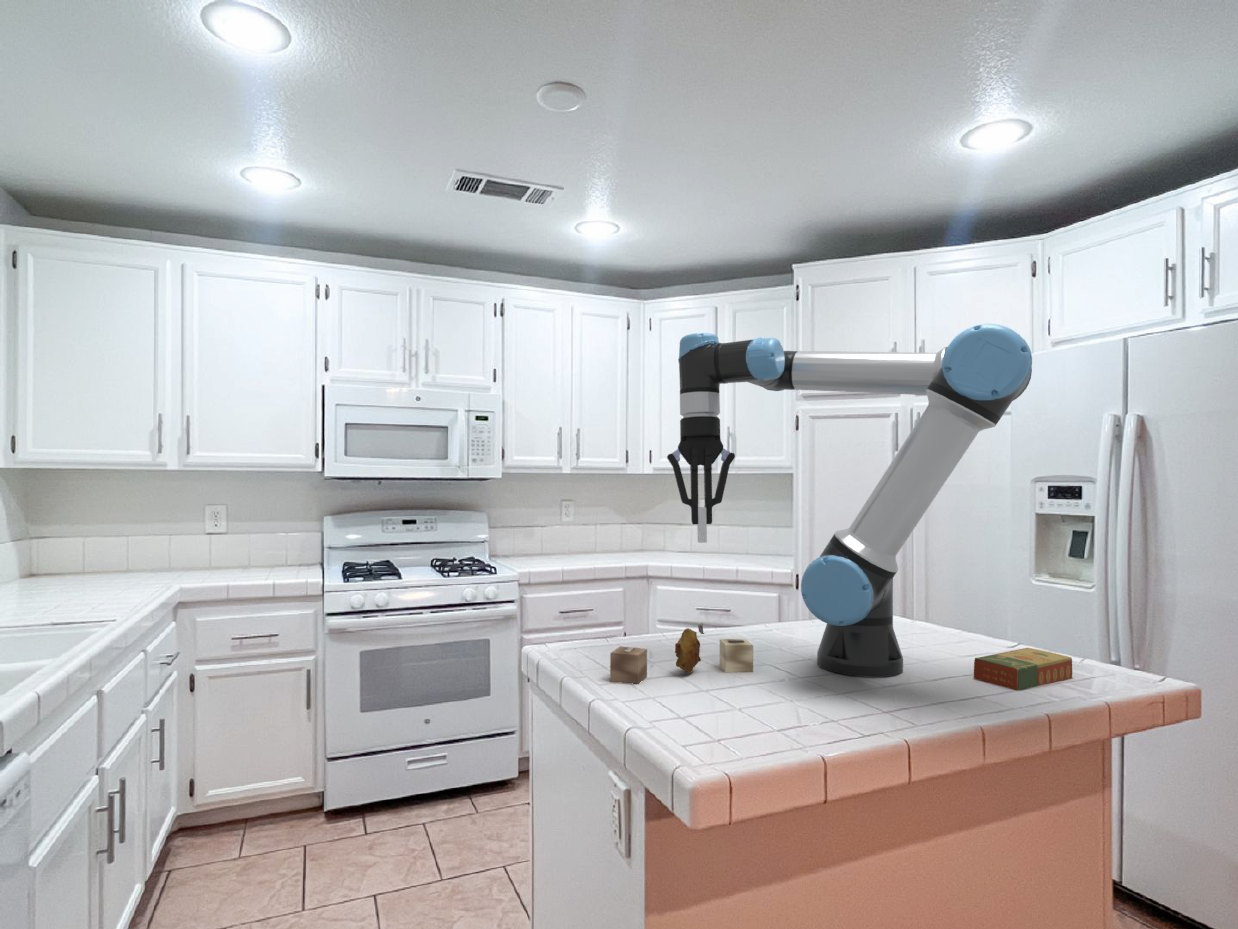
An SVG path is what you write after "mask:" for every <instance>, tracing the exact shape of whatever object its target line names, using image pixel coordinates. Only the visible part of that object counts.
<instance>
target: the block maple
mask: <svg viewBox="0 0 1238 929" xmlns="http://www.w3.org/2000/svg"><path fill="white" fill-rule="evenodd" d="M719 668H721V669H722V671H723V672H724V673H725V674H741V673H743V674H744V673H746V674H747V673H754V644H753V643H752V642H750V641H749V640H748V639H746V638H720V639H719Z"/></svg>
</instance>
